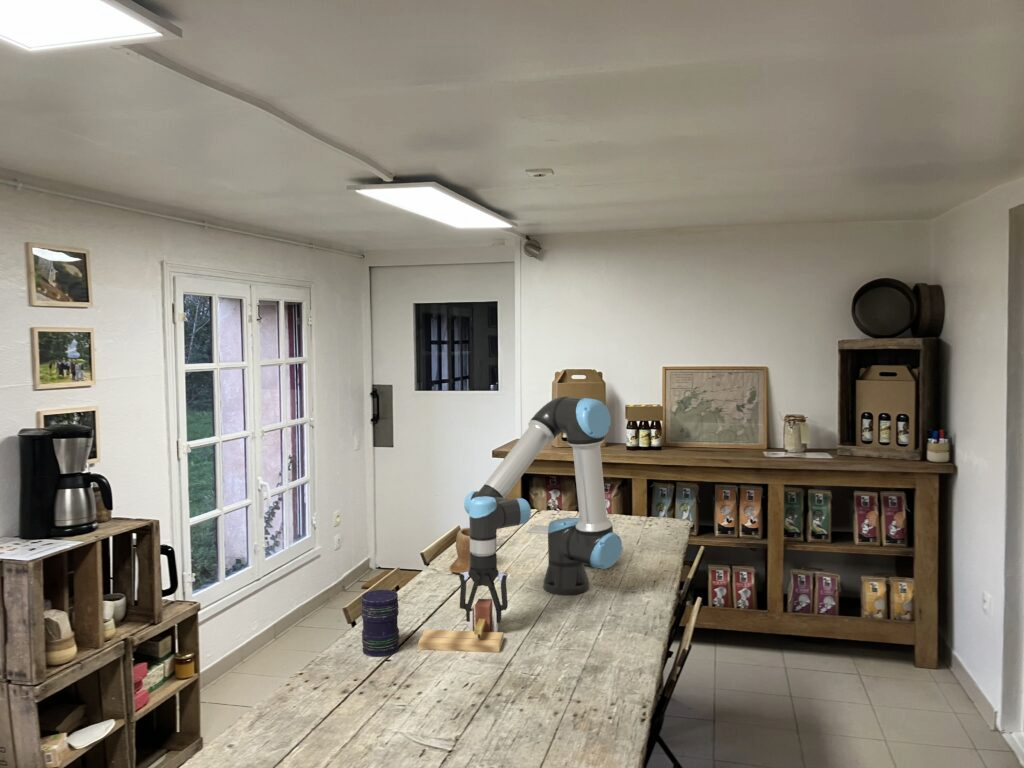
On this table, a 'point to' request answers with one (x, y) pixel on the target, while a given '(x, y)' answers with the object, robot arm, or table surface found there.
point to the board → (460, 641)
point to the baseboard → (539, 529)
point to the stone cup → (462, 552)
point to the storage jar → (380, 623)
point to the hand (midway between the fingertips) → (483, 632)
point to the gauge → (483, 616)
